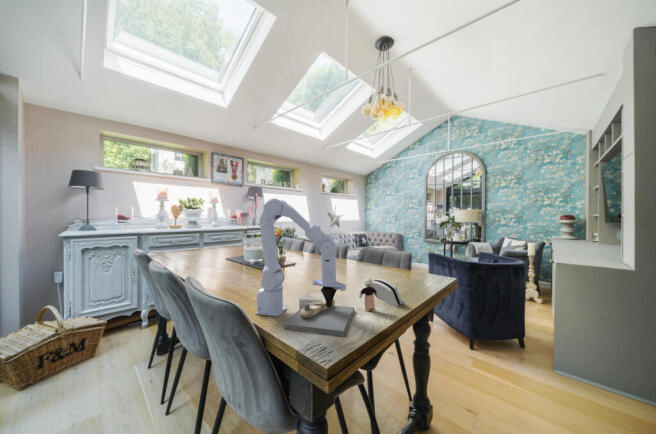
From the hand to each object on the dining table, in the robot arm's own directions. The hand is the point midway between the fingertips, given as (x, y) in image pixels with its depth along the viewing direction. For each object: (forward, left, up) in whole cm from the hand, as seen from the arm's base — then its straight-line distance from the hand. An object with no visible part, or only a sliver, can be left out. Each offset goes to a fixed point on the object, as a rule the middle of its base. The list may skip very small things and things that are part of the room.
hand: (329, 306), depth 87 cm
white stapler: (+20, +20, -3) cm, 29 cm away
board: (-1, -5, -3) cm, 6 cm away
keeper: (-7, -2, -1) cm, 7 cm away
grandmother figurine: (+14, +7, -3) cm, 16 cm away
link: (-4, -3, -1) cm, 5 cm away
